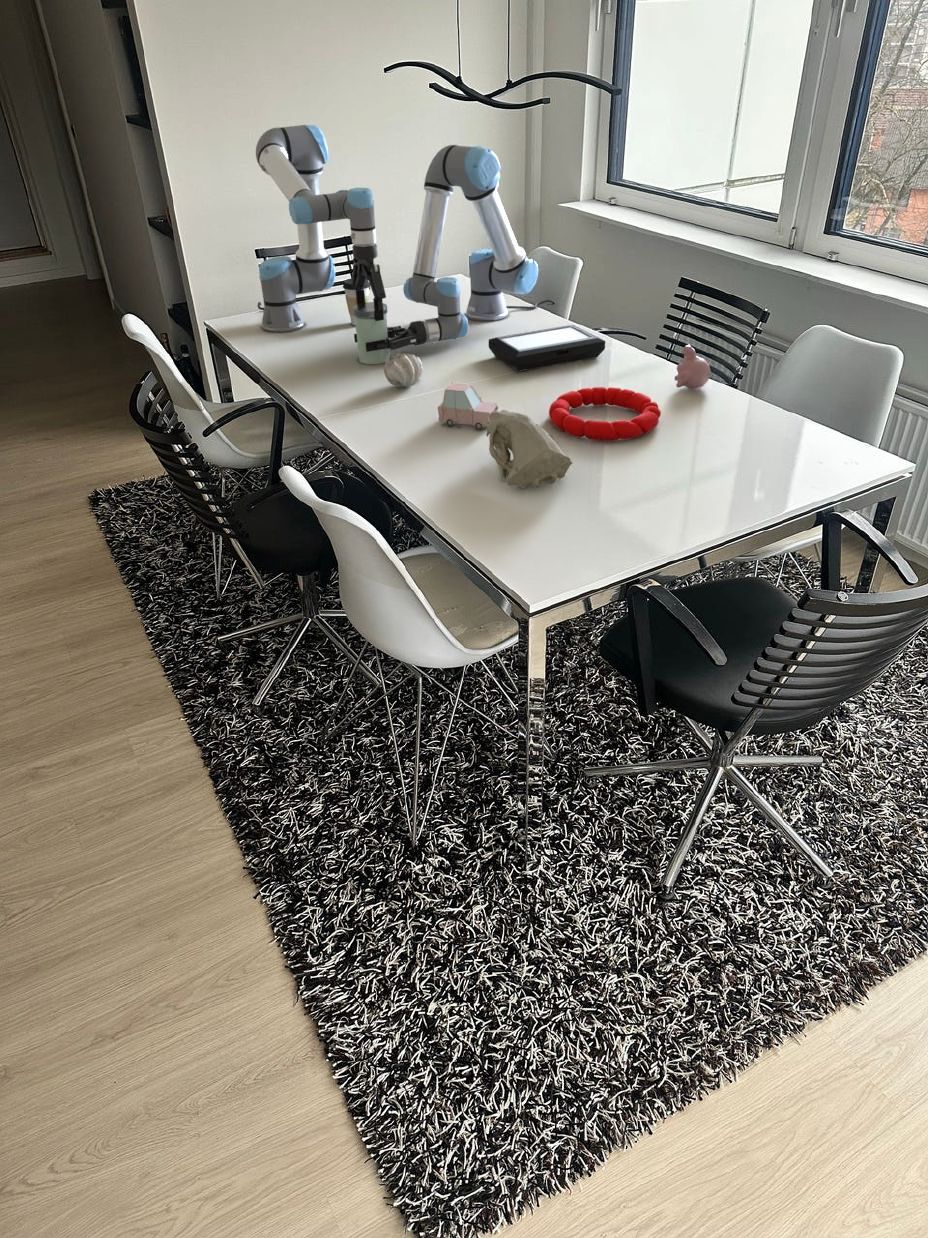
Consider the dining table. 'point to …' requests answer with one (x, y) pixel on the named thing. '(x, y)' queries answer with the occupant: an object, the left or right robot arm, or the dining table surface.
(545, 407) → the dining table surface
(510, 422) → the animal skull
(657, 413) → the decorative ring
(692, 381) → the figurine
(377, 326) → the jar
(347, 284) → the coffee cup
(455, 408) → the toy car
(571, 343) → the electronic device
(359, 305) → the lid
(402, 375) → the seashell
